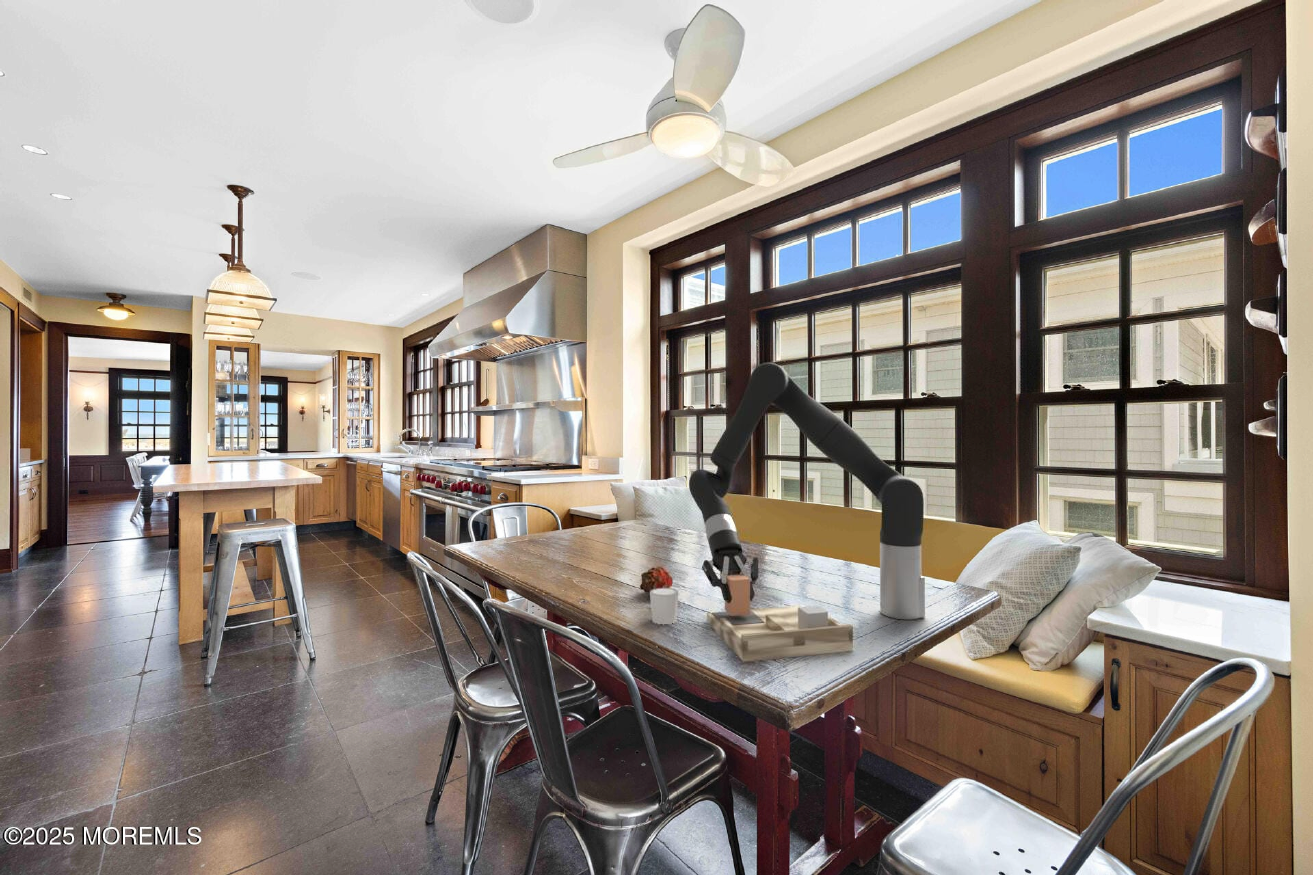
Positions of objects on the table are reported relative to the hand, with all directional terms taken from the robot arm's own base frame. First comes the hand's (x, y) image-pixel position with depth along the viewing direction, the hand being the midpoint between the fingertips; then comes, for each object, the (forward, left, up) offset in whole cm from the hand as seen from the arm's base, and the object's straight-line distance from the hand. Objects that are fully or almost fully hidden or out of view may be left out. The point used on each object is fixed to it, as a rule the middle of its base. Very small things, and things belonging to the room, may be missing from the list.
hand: (740, 600), depth 130 cm
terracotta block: (0, -2, -3) cm, 4 cm away
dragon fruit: (+20, -27, -7) cm, 34 cm away
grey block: (-15, +8, -5) cm, 17 cm away
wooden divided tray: (-7, +3, -7) cm, 10 cm away
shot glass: (+17, -6, -7) cm, 19 cm away
